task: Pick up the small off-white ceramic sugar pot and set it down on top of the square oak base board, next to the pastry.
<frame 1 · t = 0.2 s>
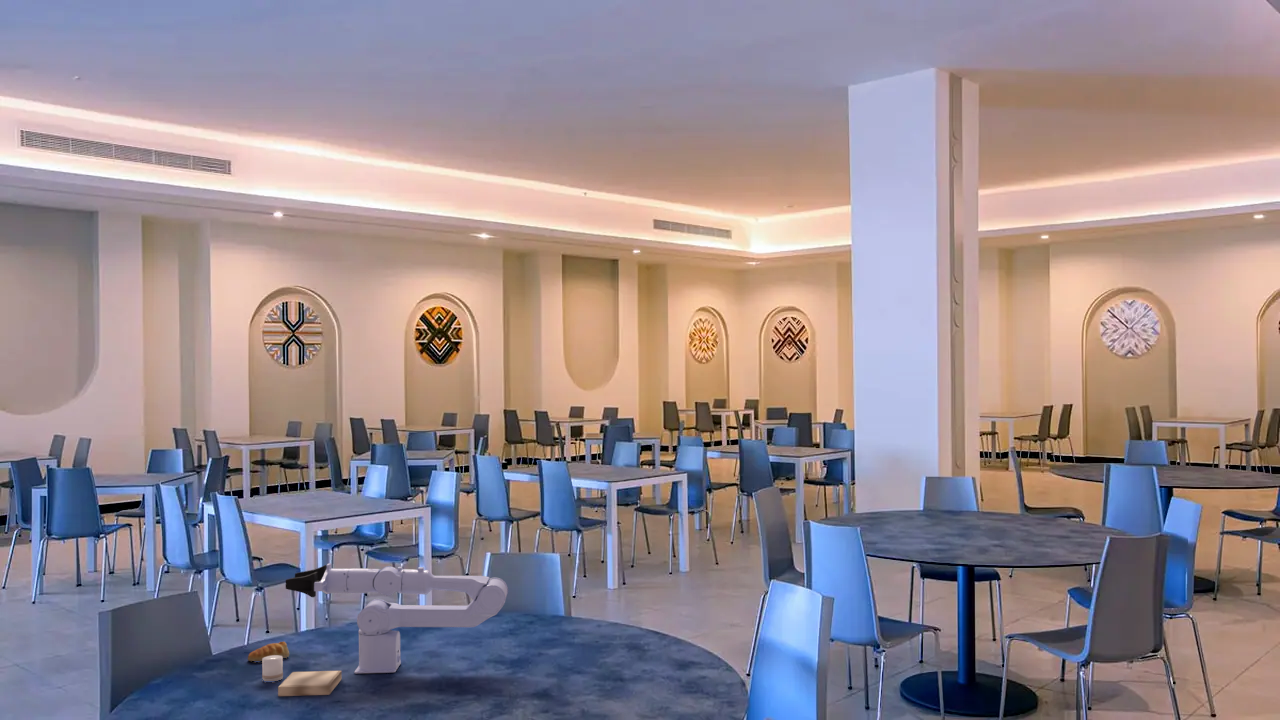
hand: (290, 580, 239), 21 cm above the table, tool horizontal, fingers open, 7 cm apart
pastry: (270, 660, 250), on the table
base board: (310, 687, 226), on the table
sugar pot: (272, 679, 233), on the table
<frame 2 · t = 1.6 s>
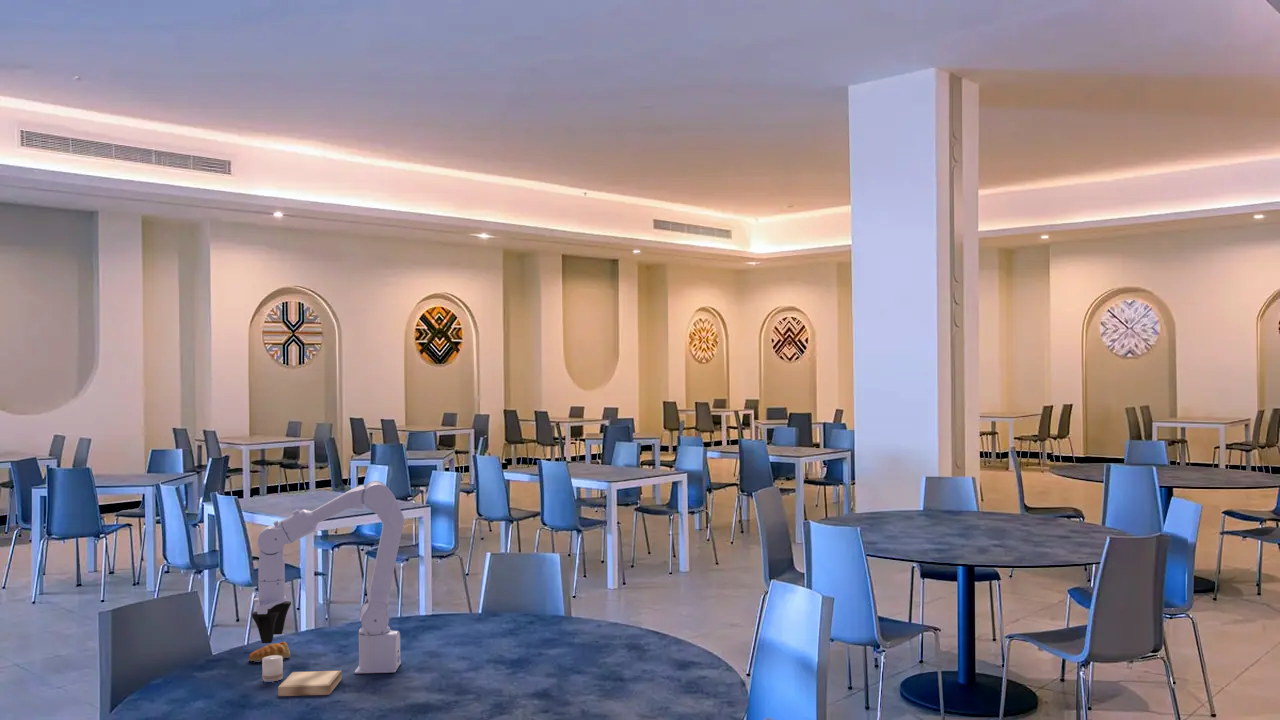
hand: (272, 638, 233), 9 cm above the table, tool pointing down, fingers open, 7 cm apart
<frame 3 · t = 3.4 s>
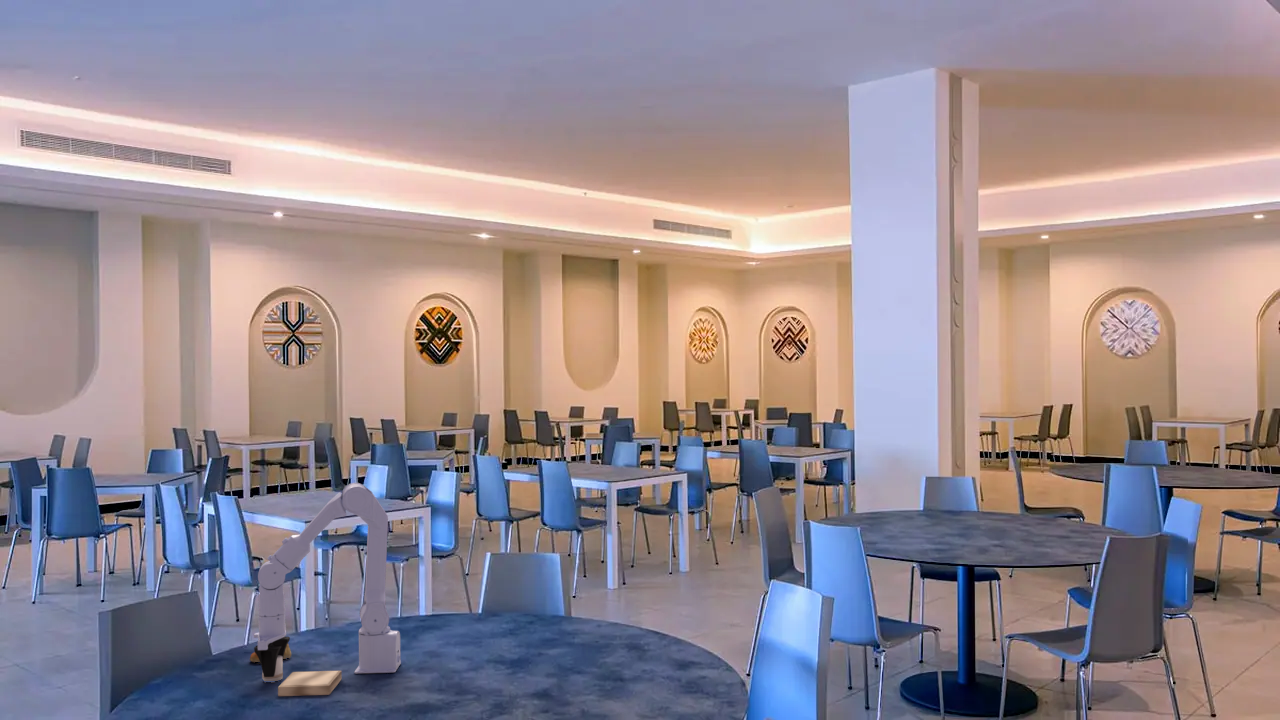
hand: (272, 673, 233), 1 cm above the table, tool pointing down, fingers closed on sugar pot, 4 cm apart
sugar pot: (272, 679, 233), on the table, touching gripper
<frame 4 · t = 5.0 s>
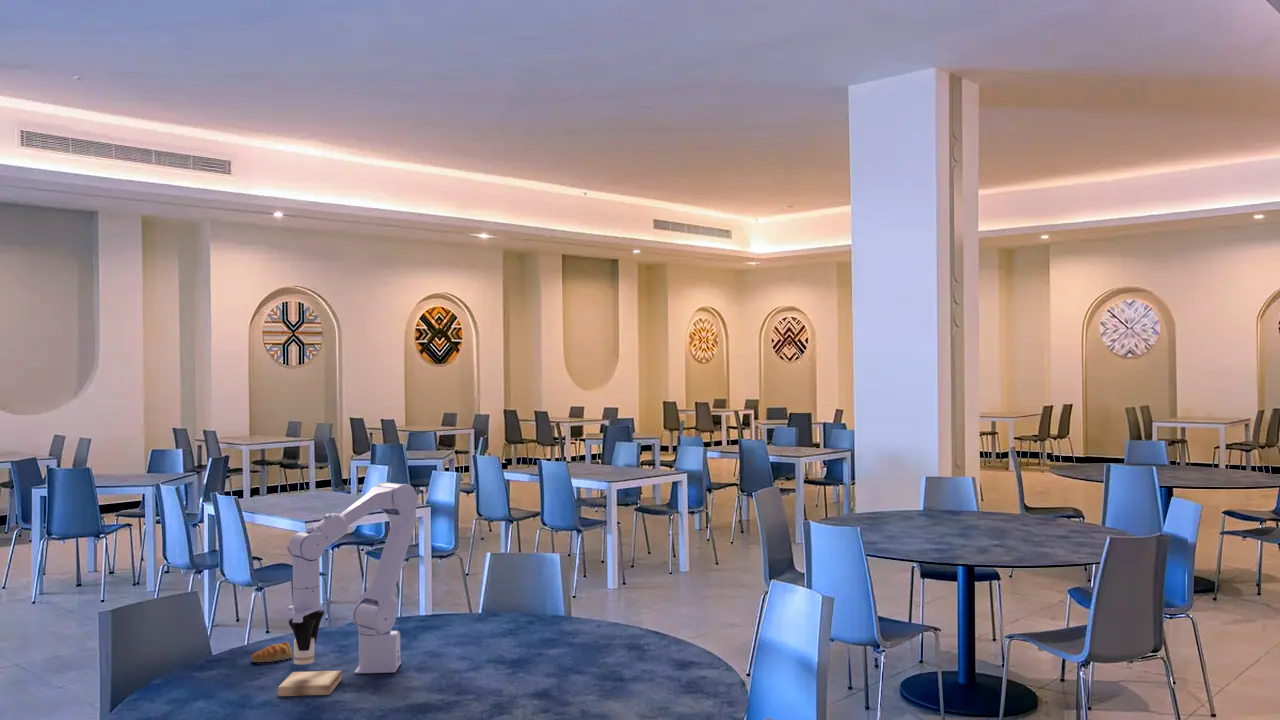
hand: (307, 647, 227), 9 cm above the table, tool pointing down, fingers closed on sugar pot, 4 cm apart
sugar pot: (303, 661, 227), point 6 cm above the table, touching gripper
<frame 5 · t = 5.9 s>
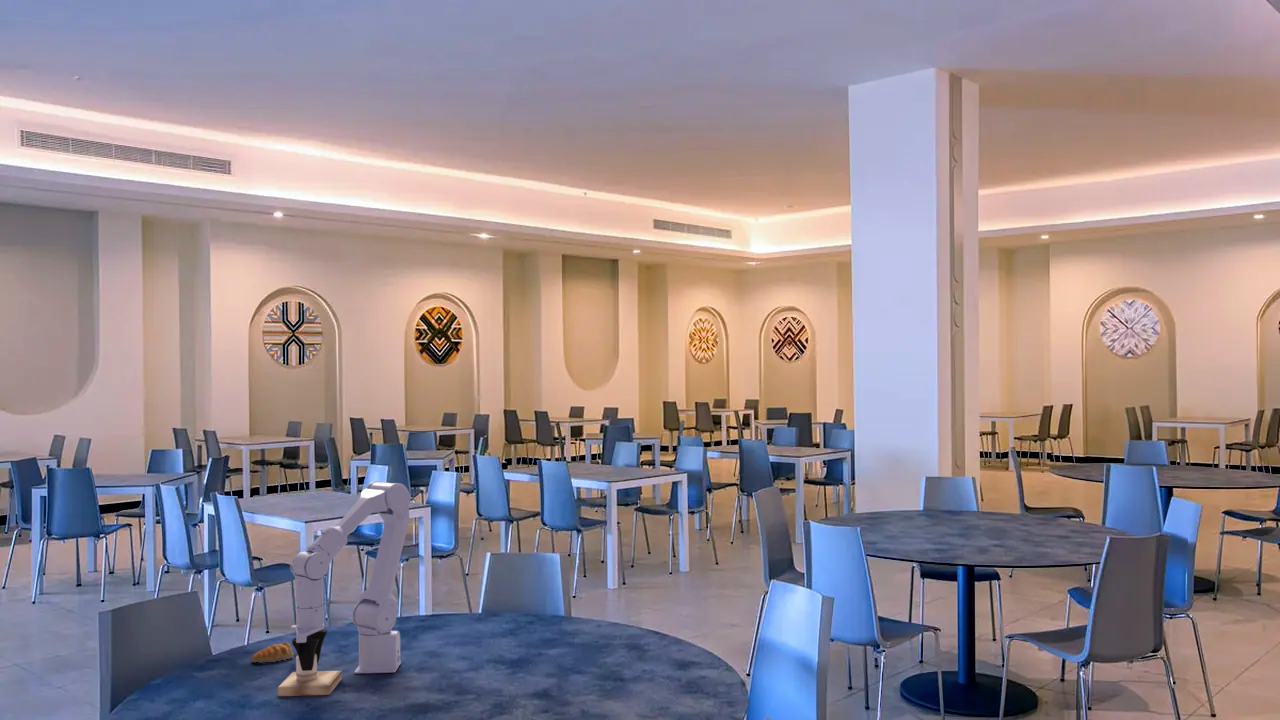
hand: (310, 666, 226), 5 cm above the table, tool pointing down, fingers closed on sugar pot, 4 cm apart
sugar pot: (306, 678, 226), point 2 cm above the table, touching base board, gripper
when the fingers open (4 cm above the table, at t = 6.8 s): sugar pot stays where it is, resting on base board.
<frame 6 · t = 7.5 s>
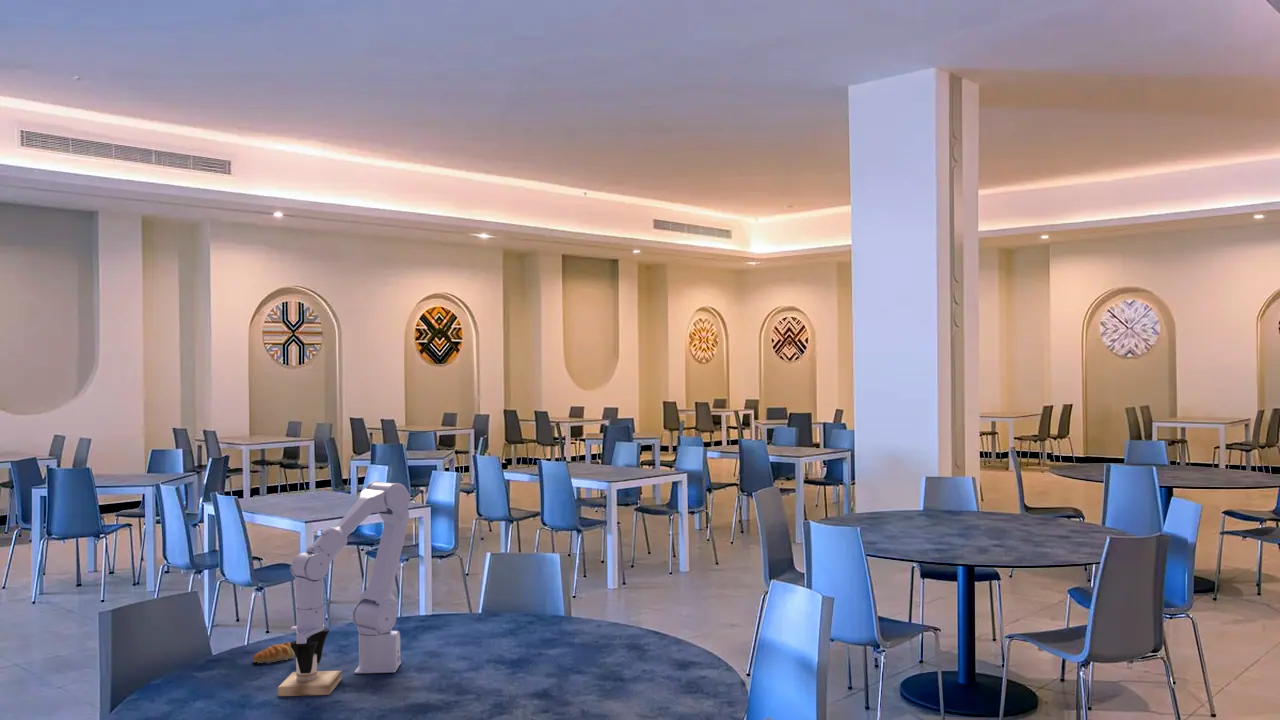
hand: (310, 667, 226), 4 cm above the table, tool pointing down, fingers open, 7 cm apart
sugar pot: (306, 678, 226), point 2 cm above the table, touching base board
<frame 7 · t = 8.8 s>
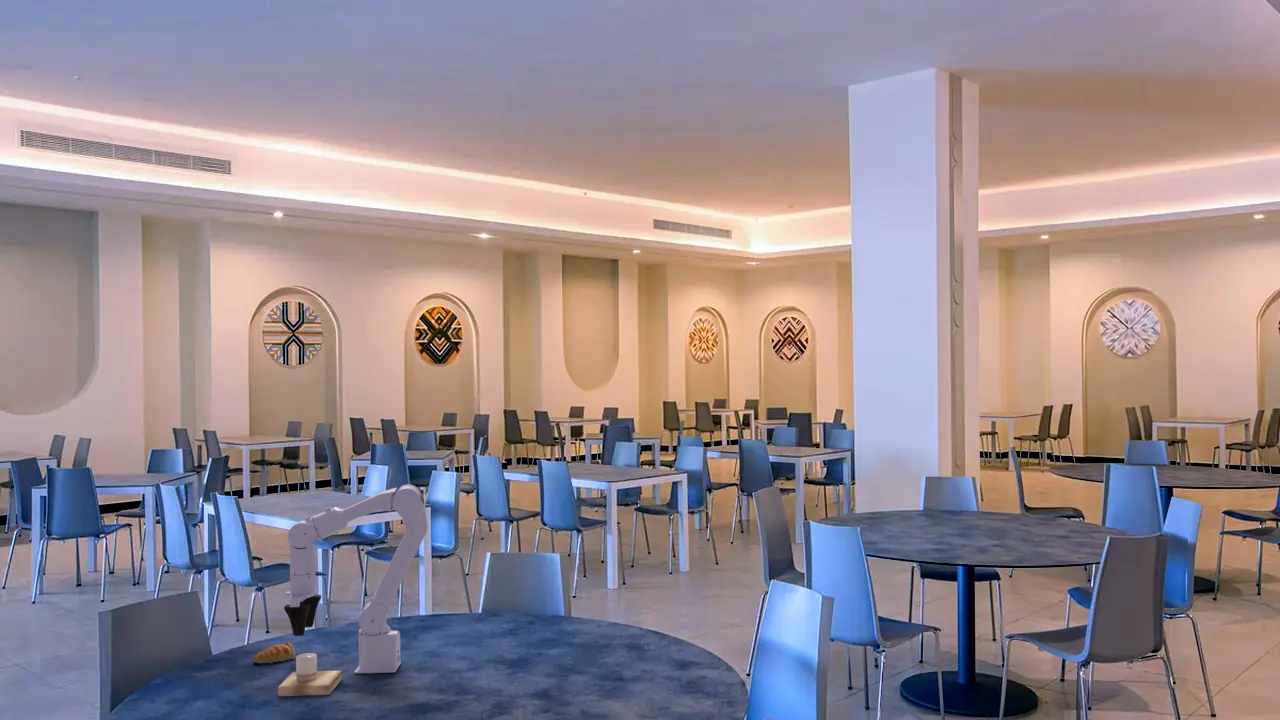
hand: (303, 631, 237), 10 cm above the table, tool pointing down, fingers open, 7 cm apart
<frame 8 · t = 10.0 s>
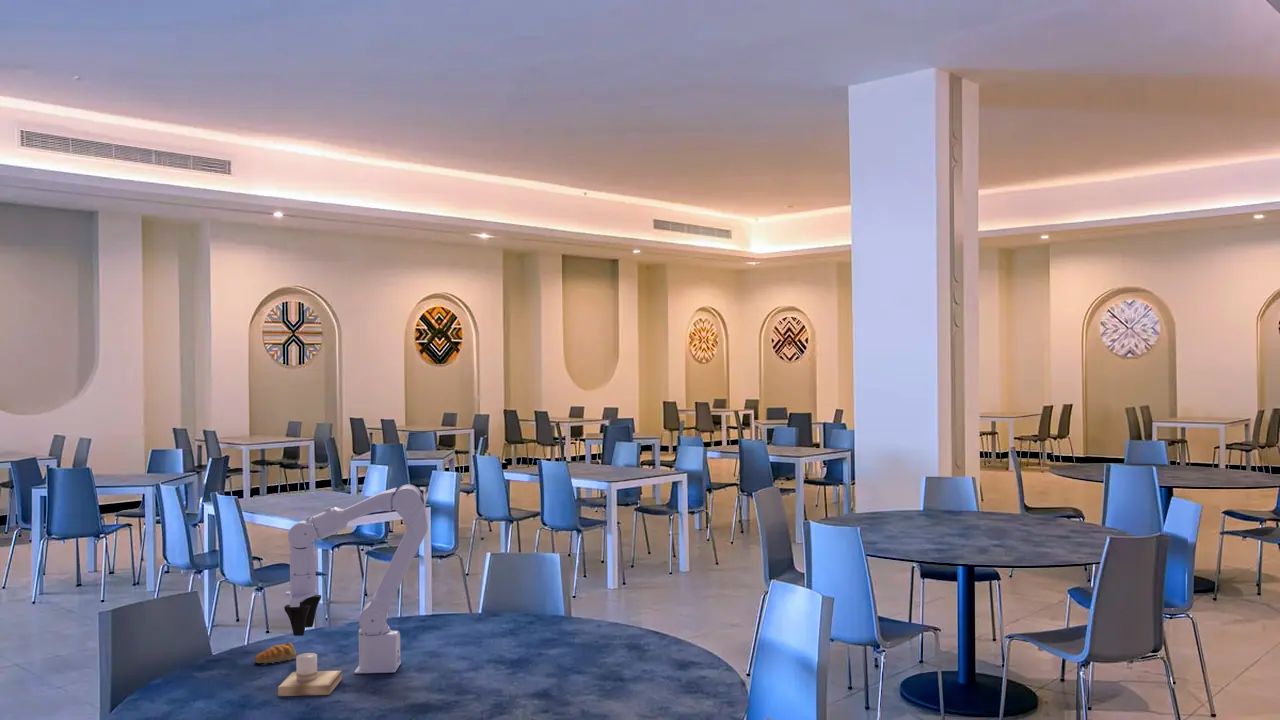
hand: (303, 631, 237), 10 cm above the table, tool pointing down, fingers open, 7 cm apart
at the end: sugar pot inside the target area on the base board (0.8 cm from its centre), point 2.2 cm above the base board's base; sugar pot tilted 1°; the gripper is holding nothing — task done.
